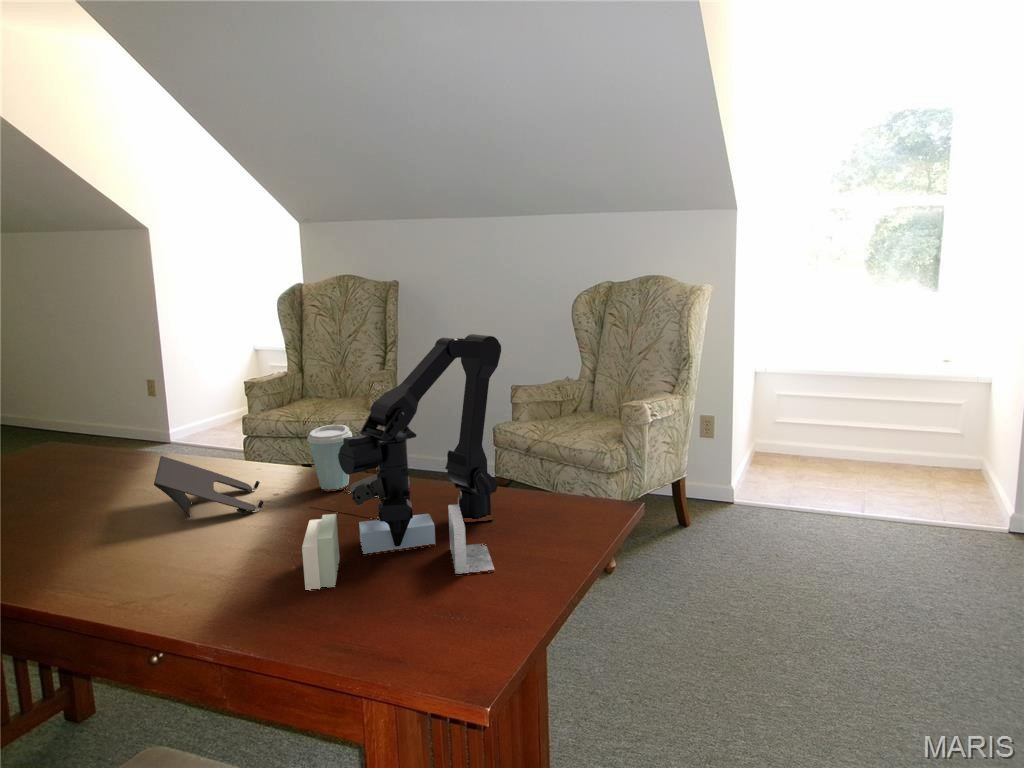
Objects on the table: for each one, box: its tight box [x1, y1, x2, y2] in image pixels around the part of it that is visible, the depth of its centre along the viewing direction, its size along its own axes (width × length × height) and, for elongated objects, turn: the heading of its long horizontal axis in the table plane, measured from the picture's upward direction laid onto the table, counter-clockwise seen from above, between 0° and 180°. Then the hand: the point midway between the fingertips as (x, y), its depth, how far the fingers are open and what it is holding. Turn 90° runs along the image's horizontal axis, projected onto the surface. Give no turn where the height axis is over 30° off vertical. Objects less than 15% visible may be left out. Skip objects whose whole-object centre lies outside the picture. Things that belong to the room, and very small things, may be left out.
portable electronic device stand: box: [153, 455, 265, 518], centre depth 172 cm, size 23×23×9 cm
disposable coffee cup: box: [307, 424, 353, 490], centre depth 183 cm, size 11×11×15 cm
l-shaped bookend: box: [447, 503, 495, 574], centre depth 140 cm, size 7×12×9 cm, turn 9°
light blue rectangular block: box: [358, 513, 436, 554], centre depth 149 cm, size 14×6×4 cm, turn 106°
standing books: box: [301, 513, 340, 591], centre depth 135 cm, size 5×13×9 cm, turn 9°
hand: (397, 539), depth 149 cm, fingers open, 7 cm apart
